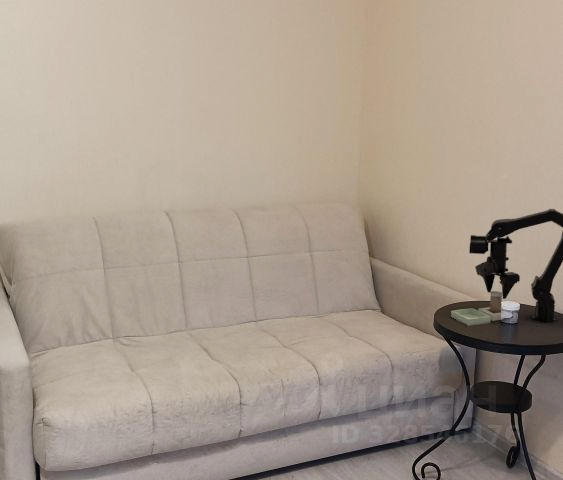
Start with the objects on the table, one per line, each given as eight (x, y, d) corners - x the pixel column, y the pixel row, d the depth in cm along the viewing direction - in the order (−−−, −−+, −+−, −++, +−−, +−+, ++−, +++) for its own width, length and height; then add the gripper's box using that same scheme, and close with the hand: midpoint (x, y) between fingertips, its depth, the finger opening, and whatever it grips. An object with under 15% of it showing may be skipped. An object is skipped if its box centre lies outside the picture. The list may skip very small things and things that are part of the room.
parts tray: (490, 323, 247) (490, 316, 247) (468, 326, 244) (468, 319, 244) (472, 314, 258) (472, 308, 257) (451, 317, 255) (451, 310, 254)
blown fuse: (503, 316, 254) (504, 293, 252) (493, 318, 253) (495, 294, 251) (496, 313, 258) (497, 290, 256) (487, 314, 257) (488, 291, 255)
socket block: (513, 317, 253) (513, 312, 252) (492, 320, 250) (492, 315, 250) (498, 311, 261) (498, 306, 261) (477, 313, 258) (478, 308, 258)
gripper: (464, 251, 257) (463, 291, 260) (495, 261, 240) (493, 304, 243) (489, 248, 261) (488, 288, 264) (521, 258, 243) (519, 301, 246)
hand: (496, 295), depth 254 cm, fingers open, 9 cm apart
